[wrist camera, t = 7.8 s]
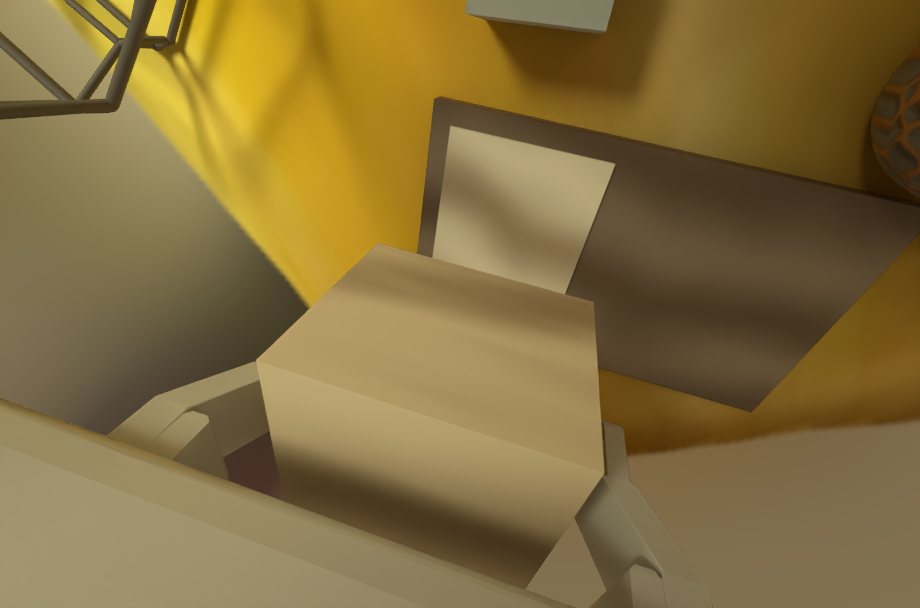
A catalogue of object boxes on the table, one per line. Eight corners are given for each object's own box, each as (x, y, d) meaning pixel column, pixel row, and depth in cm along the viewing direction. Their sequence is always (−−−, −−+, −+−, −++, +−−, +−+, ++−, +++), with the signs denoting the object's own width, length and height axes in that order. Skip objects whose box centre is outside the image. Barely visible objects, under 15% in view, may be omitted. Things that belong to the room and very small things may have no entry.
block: (377, 242, 11) (255, 360, 7) (593, 302, 10) (604, 473, 6) (371, 389, 14) (288, 525, 10) (531, 440, 13) (511, 608, 9)
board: (440, 96, 19) (433, 99, 18) (922, 203, 17) (942, 213, 16) (415, 305, 27) (409, 314, 26) (745, 400, 24) (752, 414, 23)
